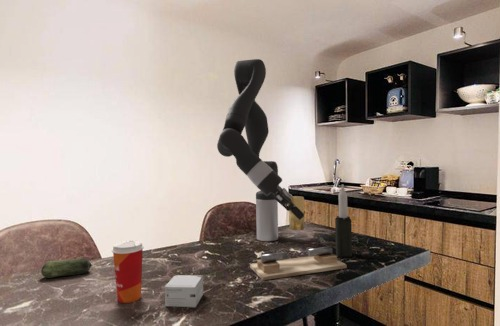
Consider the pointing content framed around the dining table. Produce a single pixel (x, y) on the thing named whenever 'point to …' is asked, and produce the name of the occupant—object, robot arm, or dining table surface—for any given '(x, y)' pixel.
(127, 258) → the paper cup
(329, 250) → the shafts
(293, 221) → the cylinder
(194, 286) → the small box
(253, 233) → the dining table surface
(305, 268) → the shaft bench
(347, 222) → the black and grey bottle
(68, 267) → the vegetable
